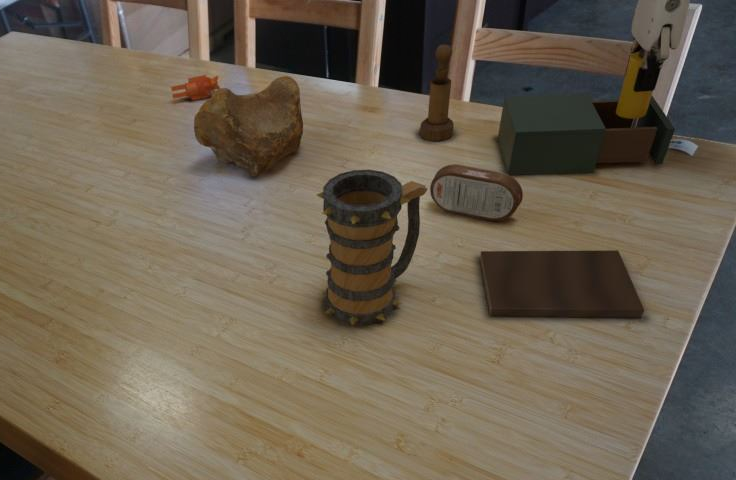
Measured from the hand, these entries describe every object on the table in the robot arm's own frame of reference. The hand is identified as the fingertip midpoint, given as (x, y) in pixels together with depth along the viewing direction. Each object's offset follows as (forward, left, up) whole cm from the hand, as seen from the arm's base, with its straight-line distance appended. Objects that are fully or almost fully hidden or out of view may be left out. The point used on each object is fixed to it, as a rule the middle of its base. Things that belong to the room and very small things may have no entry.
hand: (639, 82), depth 116 cm
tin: (+28, +20, -13) cm, 37 cm away
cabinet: (+13, 0, -13) cm, 19 cm away
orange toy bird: (+88, -35, -13) cm, 96 cm away
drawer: (+1, 0, -12) cm, 12 cm away
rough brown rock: (+68, -1, -13) cm, 69 cm away
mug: (+45, +43, -13) cm, 64 cm away
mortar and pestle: (+32, -10, -13) cm, 36 cm away
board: (+18, +40, -13) cm, 46 cm away
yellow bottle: (0, 0, -5) cm, 5 cm away
